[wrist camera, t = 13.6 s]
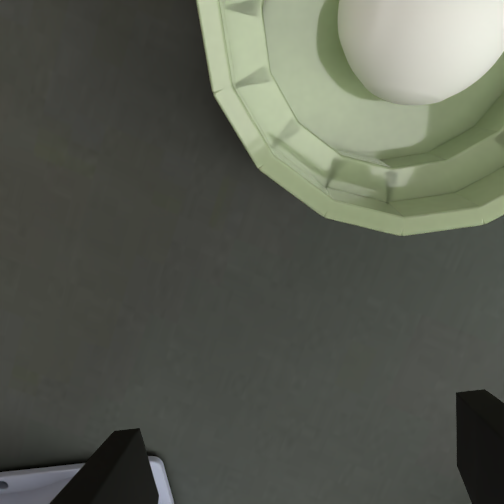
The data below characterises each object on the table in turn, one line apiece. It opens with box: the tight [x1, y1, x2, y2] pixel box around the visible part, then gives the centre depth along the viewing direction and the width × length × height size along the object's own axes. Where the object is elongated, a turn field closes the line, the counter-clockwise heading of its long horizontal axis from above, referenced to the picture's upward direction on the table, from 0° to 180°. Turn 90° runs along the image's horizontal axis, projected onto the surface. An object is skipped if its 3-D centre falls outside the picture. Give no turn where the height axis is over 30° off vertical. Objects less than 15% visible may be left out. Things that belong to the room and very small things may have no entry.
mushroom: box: [338, 0, 504, 105], centre depth 13 cm, size 5×5×5 cm
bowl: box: [196, 0, 504, 236], centre depth 14 cm, size 12×12×4 cm
